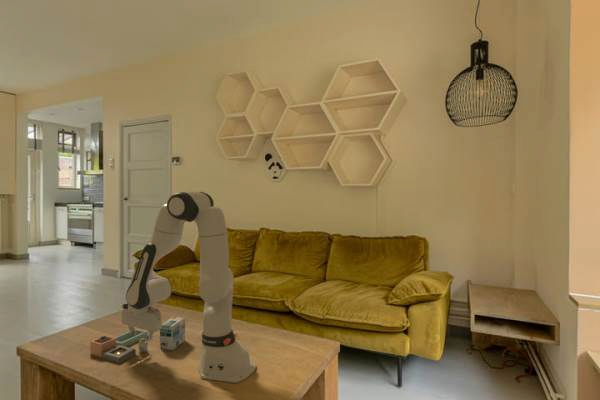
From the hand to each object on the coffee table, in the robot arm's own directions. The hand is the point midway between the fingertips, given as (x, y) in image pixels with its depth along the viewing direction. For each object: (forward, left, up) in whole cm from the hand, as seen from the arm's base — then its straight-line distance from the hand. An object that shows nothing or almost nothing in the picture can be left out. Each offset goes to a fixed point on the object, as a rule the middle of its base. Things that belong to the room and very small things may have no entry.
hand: (141, 337), depth 143 cm
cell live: (-1, 0, -7) cm, 7 cm away
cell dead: (+15, +7, -6) cm, 17 cm away
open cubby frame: (+15, +7, -7) cm, 18 cm away
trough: (+14, -5, -7) cm, 17 cm away
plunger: (+5, +7, -6) cm, 10 cm away
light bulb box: (-6, -12, -7) cm, 15 cm away
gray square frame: (+5, +7, -7) cm, 11 cm away
